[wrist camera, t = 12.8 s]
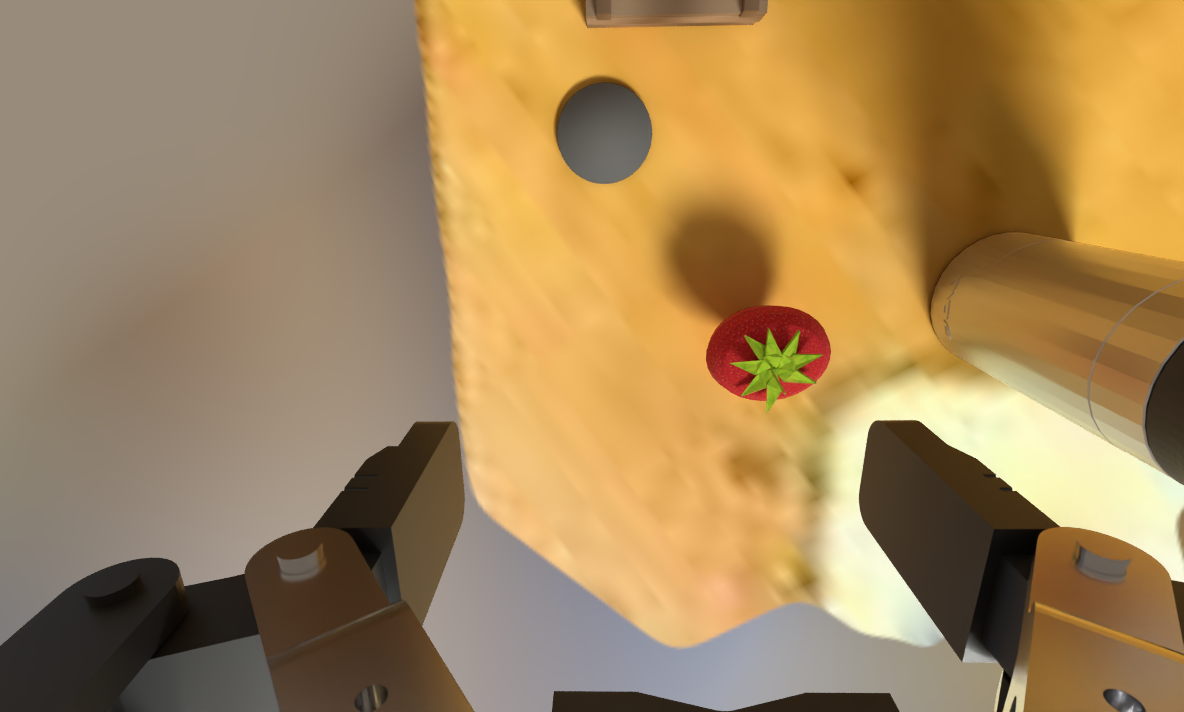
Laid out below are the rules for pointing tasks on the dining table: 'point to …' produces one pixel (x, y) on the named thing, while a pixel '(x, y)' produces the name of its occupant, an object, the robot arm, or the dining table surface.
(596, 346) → the dining table surface
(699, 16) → the walnut ramp
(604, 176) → the coaster
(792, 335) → the strawberry
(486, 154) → the dining table surface
